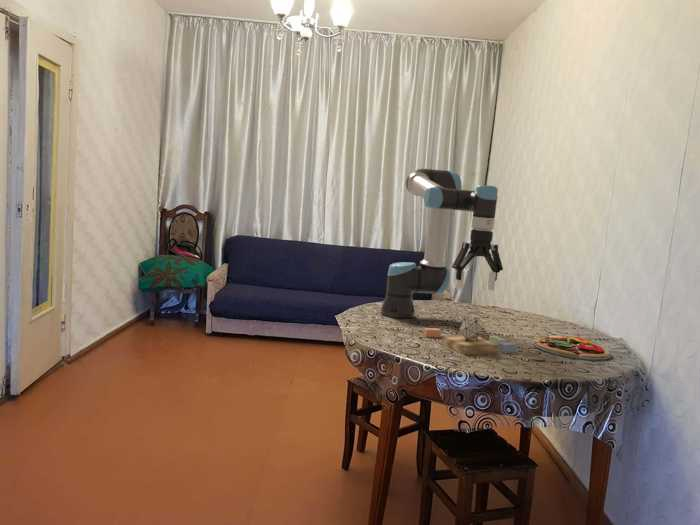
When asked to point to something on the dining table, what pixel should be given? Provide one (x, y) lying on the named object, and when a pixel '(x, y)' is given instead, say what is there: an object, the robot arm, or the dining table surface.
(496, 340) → the sage brick
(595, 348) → the toy pizza
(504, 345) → the slate blue brick
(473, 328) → the game die
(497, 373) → the dining table surface
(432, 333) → the terracotta brick
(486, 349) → the oak block
